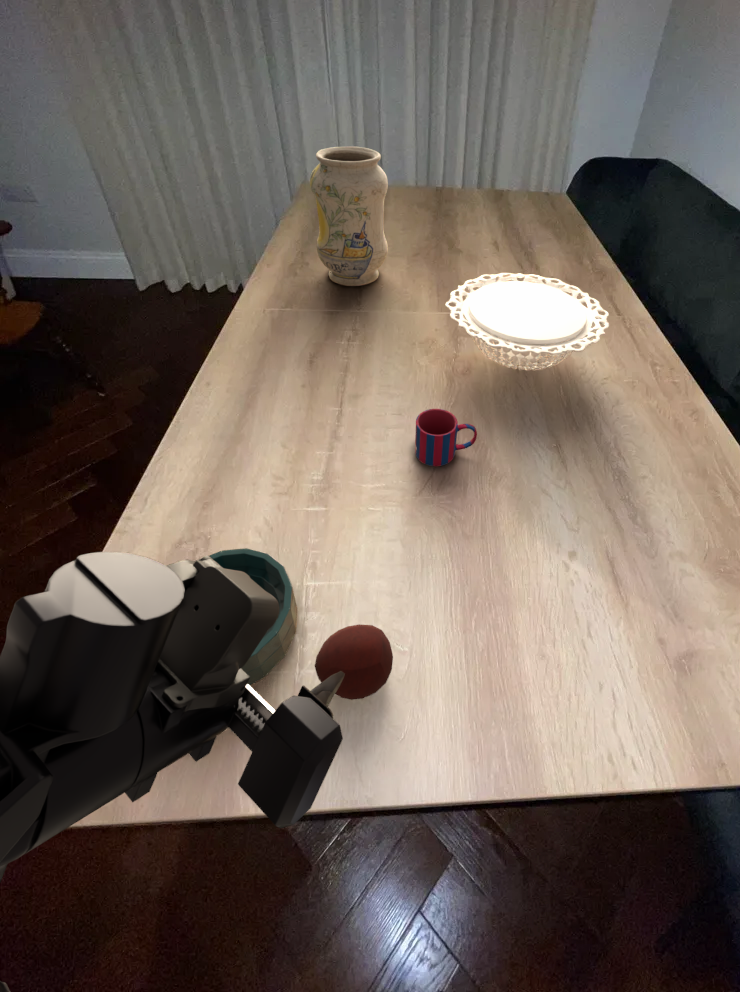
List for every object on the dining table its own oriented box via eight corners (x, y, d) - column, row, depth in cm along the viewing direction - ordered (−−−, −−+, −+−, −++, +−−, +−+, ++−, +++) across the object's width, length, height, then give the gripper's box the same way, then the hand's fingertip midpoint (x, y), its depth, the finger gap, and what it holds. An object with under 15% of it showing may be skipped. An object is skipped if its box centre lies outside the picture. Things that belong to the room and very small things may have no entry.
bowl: (219, 726, 55) (206, 702, 51) (140, 642, 61) (124, 615, 58) (322, 620, 65) (318, 593, 61) (245, 556, 71) (237, 528, 67)
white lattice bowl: (413, 348, 113) (414, 295, 105) (518, 309, 129) (526, 260, 121) (518, 432, 94) (529, 375, 86) (626, 373, 110) (643, 320, 102)
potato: (318, 648, 62) (312, 617, 58) (390, 638, 63) (389, 607, 59) (317, 716, 56) (310, 688, 52) (396, 703, 58) (396, 675, 53)
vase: (323, 259, 144) (312, 140, 126) (389, 261, 146) (388, 144, 127) (314, 290, 130) (300, 162, 112) (387, 292, 132) (386, 166, 113)
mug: (418, 436, 91) (419, 406, 87) (475, 442, 91) (479, 413, 87) (412, 464, 86) (412, 433, 82) (473, 471, 86) (477, 440, 81)
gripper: (284, 726, 24) (433, 623, 38) (71, 518, 32) (261, 496, 46) (193, 925, 25) (371, 753, 39) (7, 677, 33) (213, 608, 47)
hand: (299, 641), depth 43 cm, fingers open, 9 cm apart
